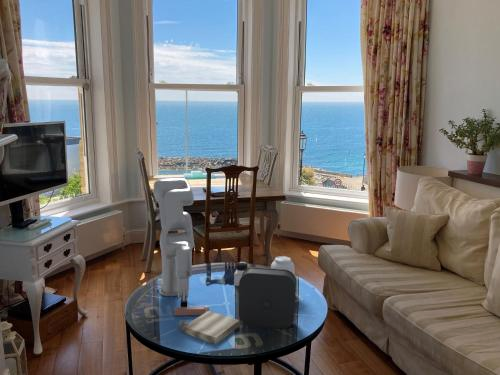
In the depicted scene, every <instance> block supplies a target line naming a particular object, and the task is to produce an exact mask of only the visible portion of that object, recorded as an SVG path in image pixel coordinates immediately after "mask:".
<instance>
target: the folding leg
mask: <svg viewBox="0 0 500 375" xmlns="http://www.w3.org/2000/svg"><path fill="white" fill-rule="evenodd" d="M207 311H210V306H209V305H204V306H187V307H180V306H175V307H174V309H173V314H174V316H201V315H203V314H204V313H206V312H207Z"/></svg>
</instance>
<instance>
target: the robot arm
mask: <svg viewBox="0 0 500 375" xmlns="http://www.w3.org/2000/svg"><path fill="white" fill-rule="evenodd" d="M153 193H154V197H155V199H156V201H157V204H158V207H159V218H160V225H161V226H160V227H161V229H162V230H161V232H160V236H159V245H160V246H159V248H160V251H161V252H160V253H161V280H160V279H159V281H158V283H157V284H156V285H157V286H160V288H159V290H158V291H159V294H160V295H161V296H164V297H176V296H177V298H178V299H180V305H179V307H188V298H189V293H190V291H189V290H190V278H191V277H192V275H193V271H192V270H193V268H192V267H193V262H192V258H193V255H192V254H193V253H192V250H193V248H194V247H195V241H194V240H195V238H194V237H195V236H194V230H193V220H192V216H191V214H190V213H188V212H187V211H184V207H185V206H186V207H187V206H191V205H193V204H194V200H195V197H194V192H193V190H192V188H191V186H190V183H189V181H188V180H187V179H186V178H161V179H157V180H155V181H154V183H153ZM174 231H182V232H174ZM169 232H174V233H169Z"/></svg>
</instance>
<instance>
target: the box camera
mask: <svg viewBox="0 0 500 375" xmlns="http://www.w3.org/2000/svg"><path fill="white" fill-rule="evenodd" d="M246 269H248V263H247V262H244V261H240V262H237V263H236V270H235V272H234V273H233V278H234V279H233V284H234V286H237V287H239V281H240V279H241V277H242V274H243V272H244V271H245V270H246Z"/></svg>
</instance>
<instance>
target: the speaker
mask: <svg viewBox="0 0 500 375" xmlns="http://www.w3.org/2000/svg"><path fill="white" fill-rule="evenodd" d="M296 290H297V279H296V276H295V273H294V274H293V273H292V272H290V271H289V270H284V269H271V267H269V268H268V267H252V266H251V267H247V269H246V270H245V271H244V272H243V274H242V277H241V279H240V281H239V286H238V317H239V321H241V322H242V323H243V324H244V325H247V326H251V327H260V328H261V327H262V328H274V329H276V328H277V329H287V328H289V327H291V326H292V325H293V323H294V321H295V314H296V313H295V311H296V297H297V296H296V293H297V292H296Z"/></svg>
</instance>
